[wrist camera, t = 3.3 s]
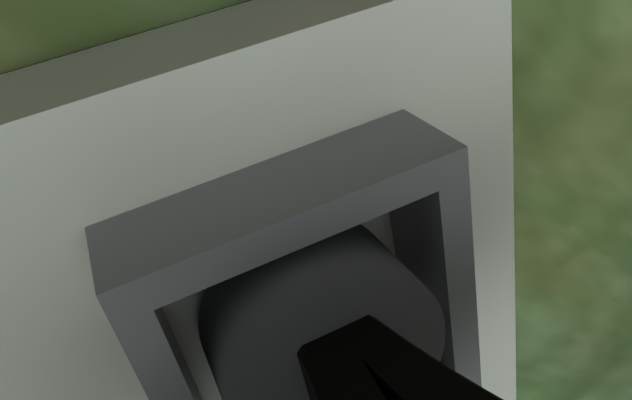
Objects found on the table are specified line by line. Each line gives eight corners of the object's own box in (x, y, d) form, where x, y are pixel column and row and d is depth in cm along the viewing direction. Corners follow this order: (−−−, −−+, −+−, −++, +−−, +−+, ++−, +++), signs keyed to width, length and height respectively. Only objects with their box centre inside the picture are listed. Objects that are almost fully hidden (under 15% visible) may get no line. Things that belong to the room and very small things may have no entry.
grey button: (231, 417, 12) (262, 499, 10) (169, 266, 10) (195, 339, 8) (399, 335, 13) (452, 399, 11) (376, 183, 11) (436, 233, 9)
